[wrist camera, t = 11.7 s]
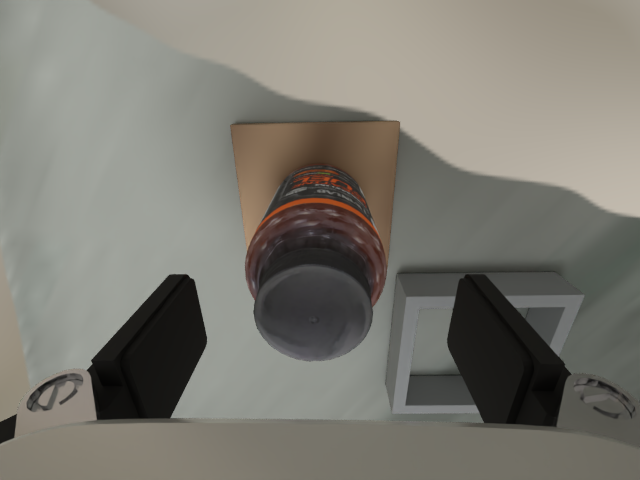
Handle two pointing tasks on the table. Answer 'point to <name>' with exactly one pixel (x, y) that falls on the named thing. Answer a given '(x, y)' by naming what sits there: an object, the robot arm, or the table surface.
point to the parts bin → (439, 292)
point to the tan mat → (316, 148)
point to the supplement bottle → (316, 265)
